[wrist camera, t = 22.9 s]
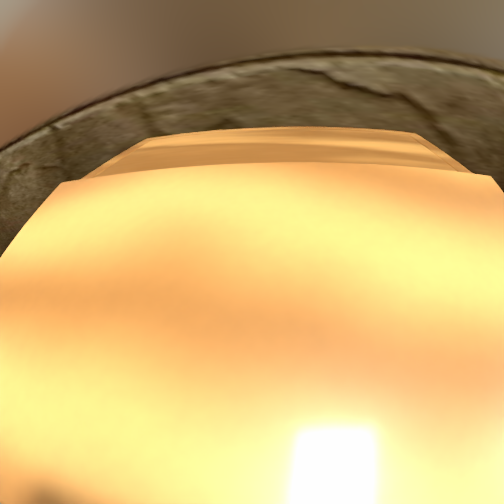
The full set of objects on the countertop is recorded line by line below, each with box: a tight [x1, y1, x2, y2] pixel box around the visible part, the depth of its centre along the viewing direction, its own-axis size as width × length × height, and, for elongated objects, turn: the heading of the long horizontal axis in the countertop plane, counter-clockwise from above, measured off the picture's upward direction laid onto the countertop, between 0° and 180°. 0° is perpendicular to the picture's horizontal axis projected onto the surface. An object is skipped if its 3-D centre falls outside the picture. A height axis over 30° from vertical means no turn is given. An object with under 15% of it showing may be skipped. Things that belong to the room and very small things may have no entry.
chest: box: [80, 127, 473, 180], centre depth 16 cm, size 12×17×8 cm
